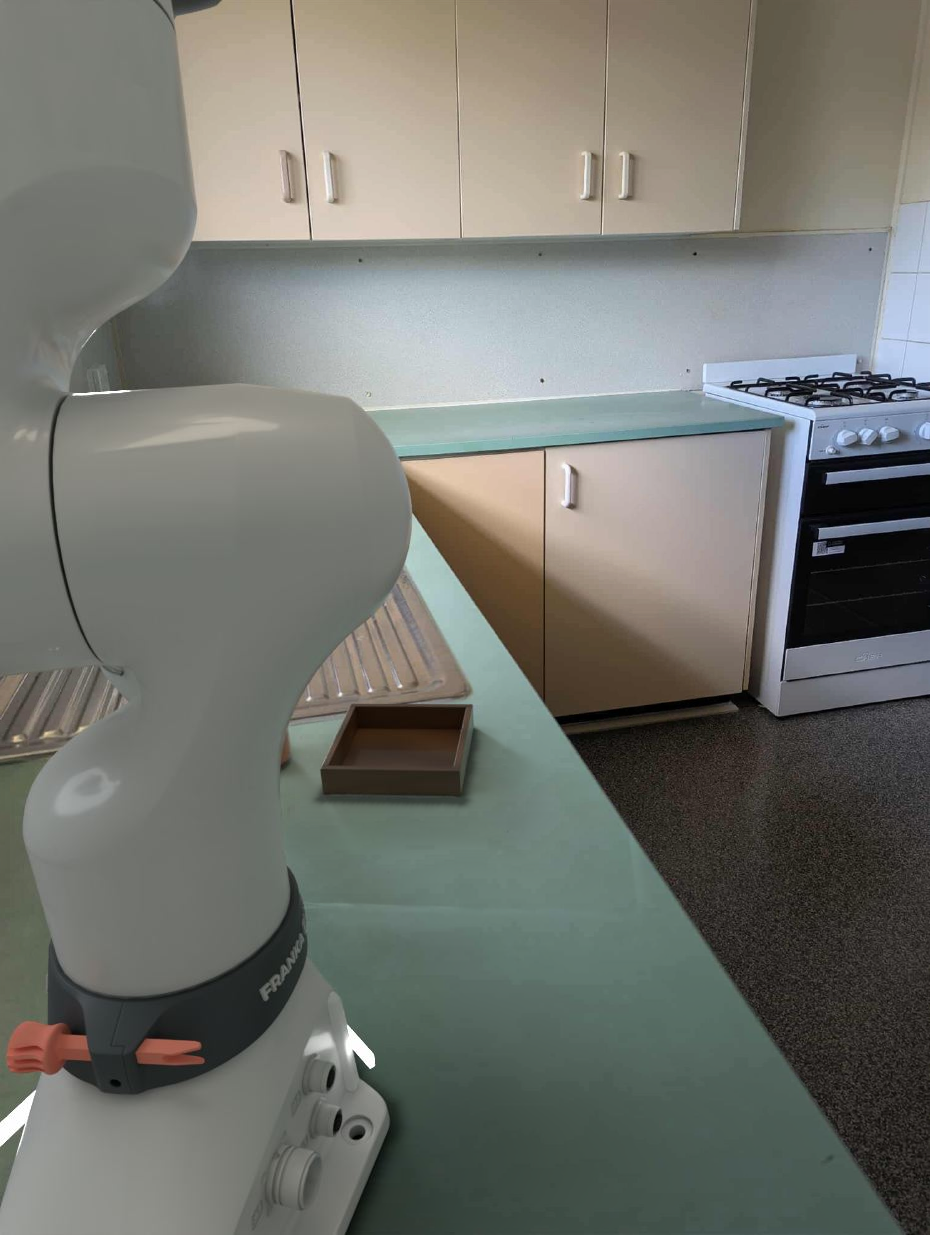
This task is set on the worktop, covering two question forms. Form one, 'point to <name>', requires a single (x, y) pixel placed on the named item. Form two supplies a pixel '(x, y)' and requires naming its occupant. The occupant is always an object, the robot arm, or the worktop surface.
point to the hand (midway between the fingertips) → (261, 696)
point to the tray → (400, 750)
